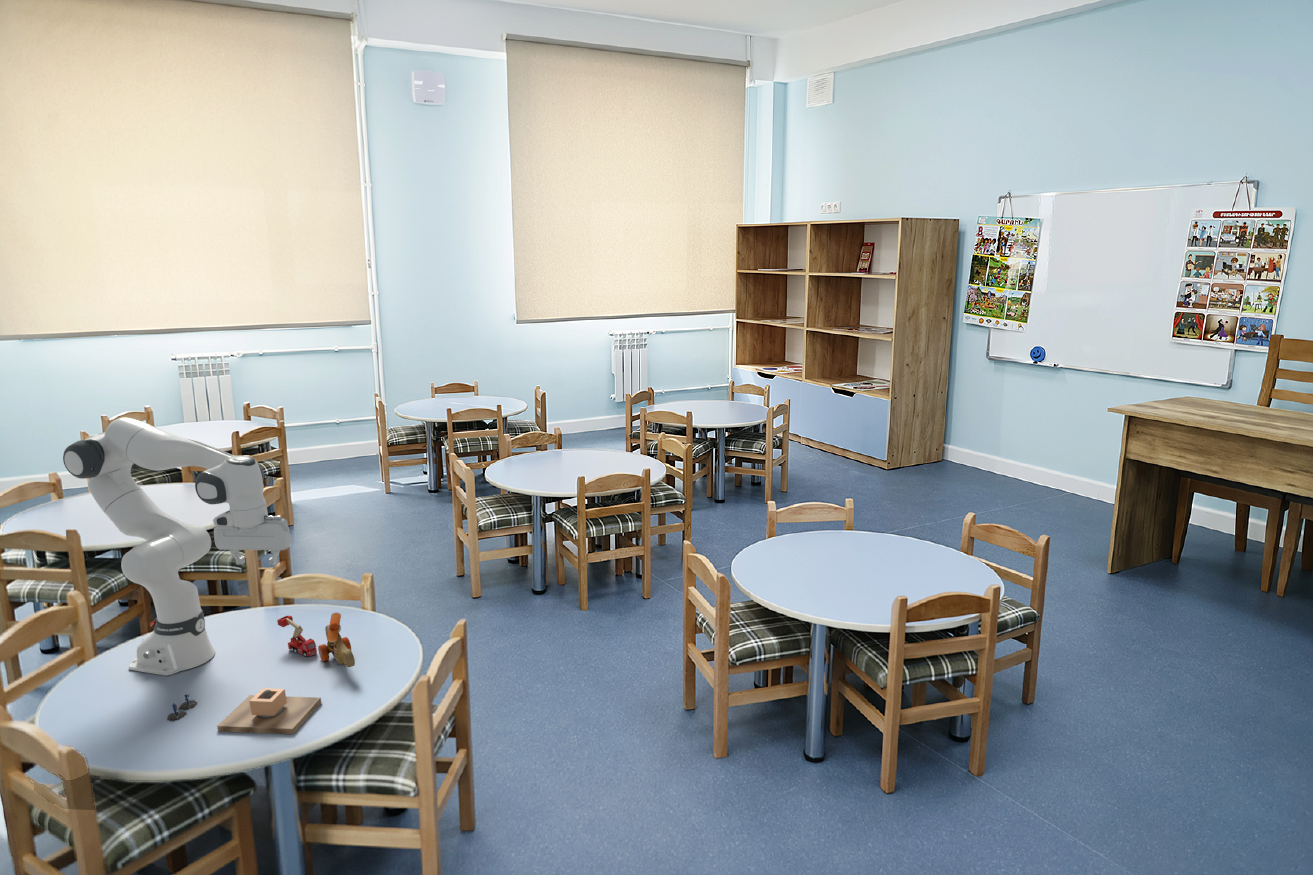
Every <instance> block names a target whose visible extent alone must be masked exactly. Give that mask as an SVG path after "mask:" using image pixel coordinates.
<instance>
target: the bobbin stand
mask: <svg viewBox="0 0 1313 875" xmlns="http://www.w3.org/2000/svg"><path fill="white" fill-rule="evenodd" d="M255 695H256V694H255ZM255 695H251V694H250V695H248V696H247V697H246V698H245V699H244V700H243V701H242V702H241V703H240V704H239V705H237V706H236V707H235V709H233V710H232V712H230V713H229V714H228V715H227V716H226V717H225V718H224V719H223V720H221V721H220V722H219V724H217V725H216V727H217V728H216V729H217V732H228V733H231V732H232V733H233V732H234V733H251V734H252V733H255V734H256V733H257V734H280V735H285V734H286V735H295V733H296V732H297V731H298V730H299V729H300V728H301V727H302V725H303V724H304V723H305V721H307V720H308V719H309V717H310V716H311V715H312V714H313V713H314V712H315V710H317V708H318V707H319V706H320V705H321V704H322V698H321V697H315V696H314V697H311V696H310V697H307V696H286V701H287V703H286V704H285V705H284V706H283V707H282V708H281V709H280V710H279V711H278V712H277V713H276V714H275V715H274V716H264V715H252V713H251V708H250V702H249V701H250V700H251V699H252V698H253V697H254V696H255ZM272 696H273V695H272V691H271V690H265V691H264V692H263V699H270V698H271V697H272Z"/></svg>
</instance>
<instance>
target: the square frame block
mask: <svg viewBox="0 0 1313 875" xmlns="http://www.w3.org/2000/svg"><path fill="white" fill-rule="evenodd" d="M265 690H271V691H272V695H273V696H272V697H271V698H270V699H263V692H264V691H265ZM286 697H287V696H286V689H285V688H271V687H270V688H269V687H267V688H266V687H263V688H261V689H260V690H259V691H258V692H257V693H256V694H255V696H254V697H253V698H252V699H251V700H250V701H249V702H250V708H251V713H252V715H264V716H274V715H275V714H276V713H277V712H278V711H279V710H280V709H281V708H282V707H283V706H284V705H285V704H286V703H287V701H286Z"/></svg>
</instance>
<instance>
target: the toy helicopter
mask: <svg viewBox="0 0 1313 875" xmlns="http://www.w3.org/2000/svg"><path fill="white" fill-rule="evenodd" d="M341 618H342V614H341V613H339V612H334V613H331V615H330V621H329V624H328V625H326V626H325V628H324V629H325V630H324V631H325V636H326V640H327V642H326V643H323V644H319V645H318V649H317V651H318V654H319V658H320V659H321V661H322V662H326V661H329V660H330V653H331V654H332V655H333V657H334V659H335V660H336V662H337V664H338V665H339V666H340V665H343V664H344V666H345V667H346V668H352V667H354V666H355V665H356V662H355V660H356V659H355V657H354V654H353V652H352V645H351V641H350V639H349V638H348V637H347V636H344V637H342V636H341V635H340V633H341V631H342V626H341V624H340V623H341Z"/></svg>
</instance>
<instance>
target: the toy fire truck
mask: <svg viewBox="0 0 1313 875" xmlns="http://www.w3.org/2000/svg"><path fill="white" fill-rule="evenodd" d="M293 619H294V618H293V616H292V615H285V616H283V617H281V618H277V621H276V622H277V625H278V627H279V626H280V628H285V627H287V626H291V627H293V628H294V631H293V635H292V637H291V638H290V641H289V642H287V647H288V649H289V650H290V651H292V653H295V654H300V655H303V656H304V657H311V656H313V655H315V654H317V653H318V649H317V644H316V641H315V640H314V639H312V638H309V639H307V640H306V638H305V637H304V636H303V634H302V633H303V631H304V629H303V627H302V626H301V624H300V625H299V624H297V623H295V621H293Z"/></svg>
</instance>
